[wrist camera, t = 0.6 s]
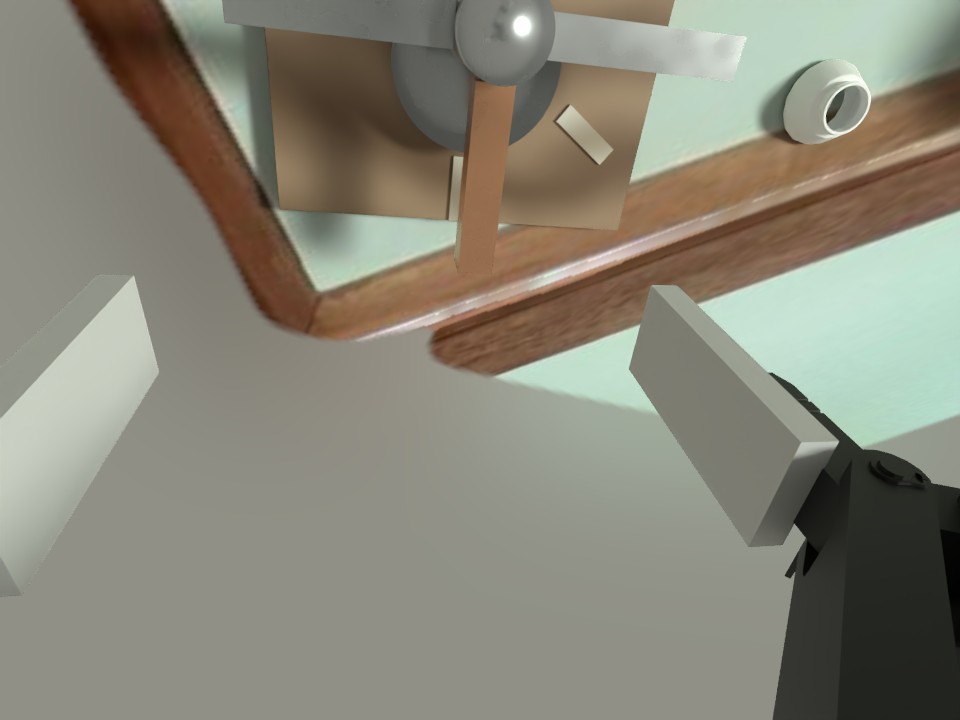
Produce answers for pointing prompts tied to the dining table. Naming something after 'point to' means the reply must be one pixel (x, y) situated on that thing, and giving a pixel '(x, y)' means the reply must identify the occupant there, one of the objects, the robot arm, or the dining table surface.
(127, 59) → the dining table surface
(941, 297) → the dining table surface
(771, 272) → the dining table surface
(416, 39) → the capstan
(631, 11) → the board
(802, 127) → the white round hollow piece
